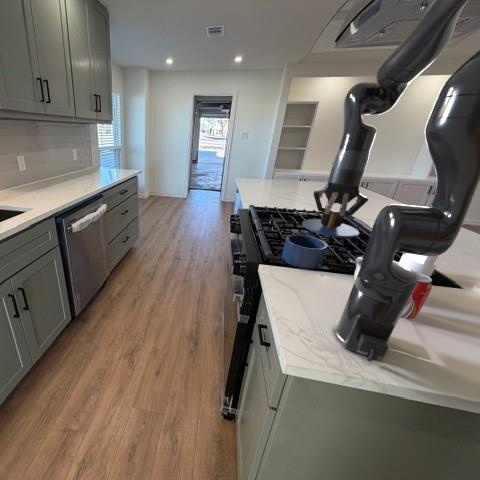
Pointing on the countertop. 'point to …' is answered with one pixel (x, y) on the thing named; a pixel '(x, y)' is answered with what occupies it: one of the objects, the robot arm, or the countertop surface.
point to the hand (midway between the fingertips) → (329, 226)
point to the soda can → (418, 296)
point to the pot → (304, 251)
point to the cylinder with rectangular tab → (419, 263)
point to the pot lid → (330, 227)
